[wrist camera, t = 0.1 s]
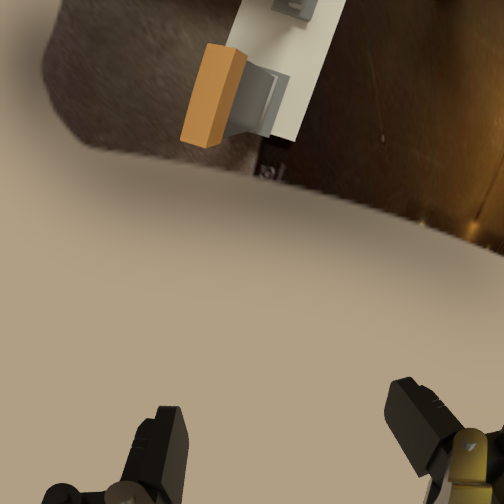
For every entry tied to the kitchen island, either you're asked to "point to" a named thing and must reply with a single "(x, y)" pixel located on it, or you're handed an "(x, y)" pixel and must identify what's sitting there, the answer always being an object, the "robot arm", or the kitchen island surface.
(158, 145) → the kitchen island surface
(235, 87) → the orange lever
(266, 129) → the switch panel
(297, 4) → the grey lever
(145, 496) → the robot arm
